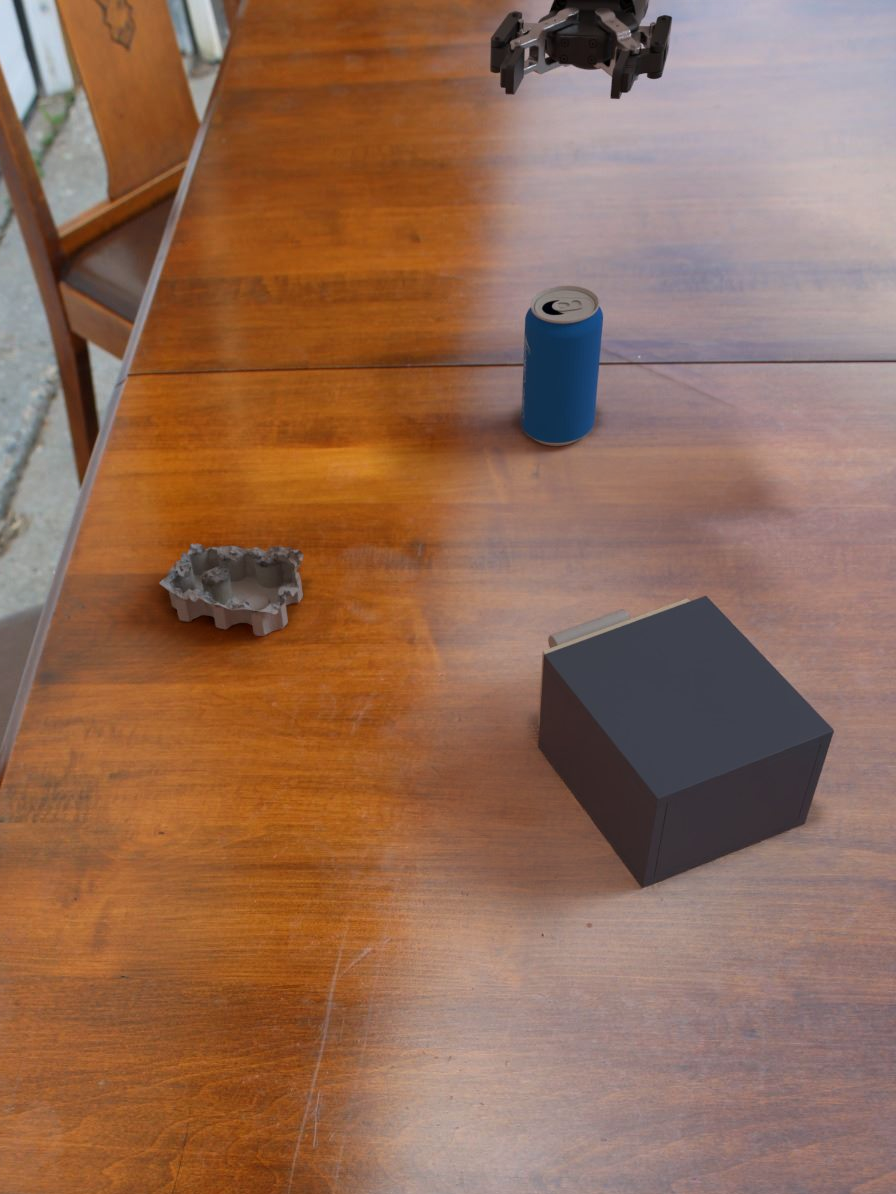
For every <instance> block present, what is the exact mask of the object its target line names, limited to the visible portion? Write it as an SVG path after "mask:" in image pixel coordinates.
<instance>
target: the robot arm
mask: <svg viewBox="0 0 896 1194" xmlns="http://www.w3.org/2000/svg"><path fill="white" fill-rule="evenodd" d="M650 2H651V1H650V0H553V1H552V3H551V6H550V9H549V12H548V14H546V15H543V16H542V17H541V18H540V19H539V20H538V22H525V20H524V19H523V12H521V11H516V10H515V11H510V12H509V13H508V14H507V15H506V16H505V17H504V19H503V20H502V22H501V23H500V25H499V26H498V27H497V29H496V30H495V31H494V33H493V35H492V36H491V37H490V58H489V59H490V60H489V61H490V62H489V63H490V65H489V71H490V73H492V74H499V86H500V88H502V89H504V92H505V95H513V96H515V95H516V94H517V91H518V89H519V87H520V85H521V83H522V81H523V80H524V77H525V76H526V75H528V74H530V73H532V72H534V73H536V74H538V75H543V74H545V73H548V72H550V71H553V70H555V69H557V68H560V67H564V68H567V67H570V66H572V67H574V68H577V69H580V70H584V71H596V70H600V69H601V70H602V71H603V72H605V73H606V74H607V75H608V76H610V77H611V84H610V98H609V99H611V100H620V99H621V97H622V94H627V93H629V92H630V91H632V88H633V85H634V83H635V82H636V81H638V80H639V77H640V75H644V74H646V78H647V79H650V80H657V79H661V78H662V77H663V74H664V70H665V66H666V63H667V62H666V61H667V58H668V54H669V50H670V41H671V31H672V22H673V17H672V16H671V15H667V14H663V15H658V17H657V18H656V21H655V22H654V21H652V22H650V23H649V25H641V23H642V22H643V20H644V19H645V18H646V15H647V12H648V8H649V4H650ZM642 47H643V48H642ZM526 49H528V58H527V59H526V60H525V57H526V54H525V53H526ZM546 55H547V56H546Z"/></svg>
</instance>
